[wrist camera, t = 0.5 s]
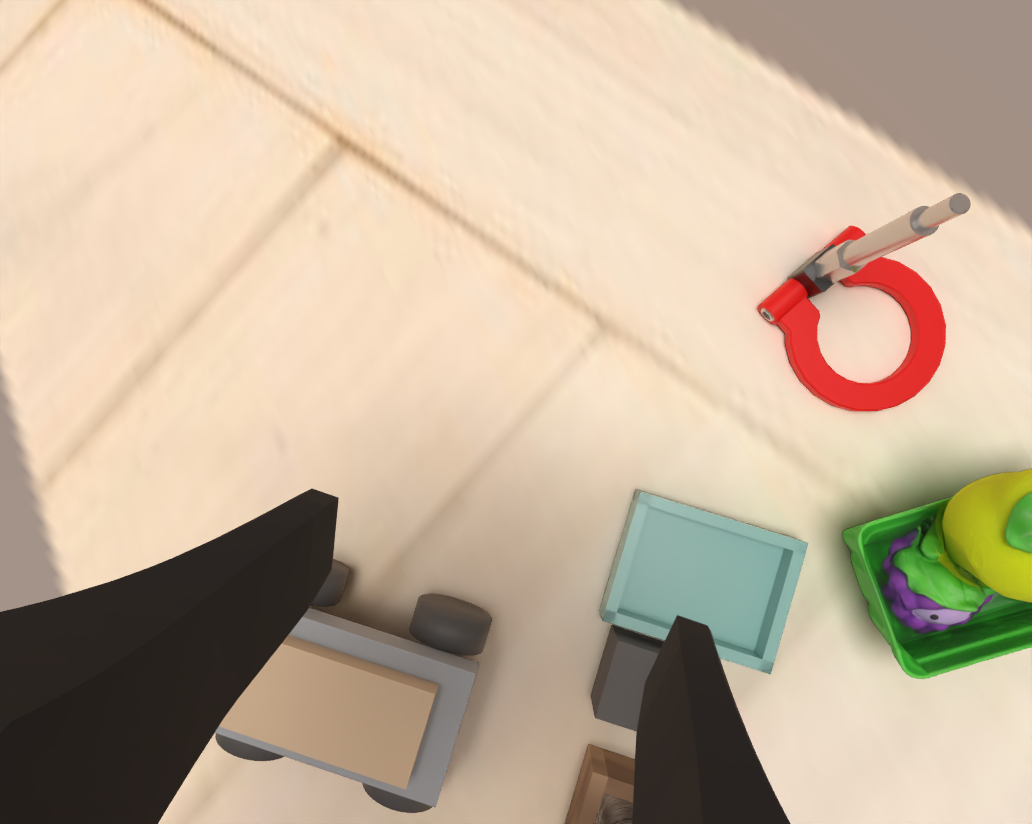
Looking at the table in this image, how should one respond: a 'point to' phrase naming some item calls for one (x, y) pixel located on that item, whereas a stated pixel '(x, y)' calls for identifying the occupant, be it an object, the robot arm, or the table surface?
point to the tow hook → (864, 266)
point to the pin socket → (600, 783)
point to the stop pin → (615, 810)
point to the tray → (703, 578)
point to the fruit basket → (951, 575)
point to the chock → (623, 676)
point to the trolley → (365, 697)
